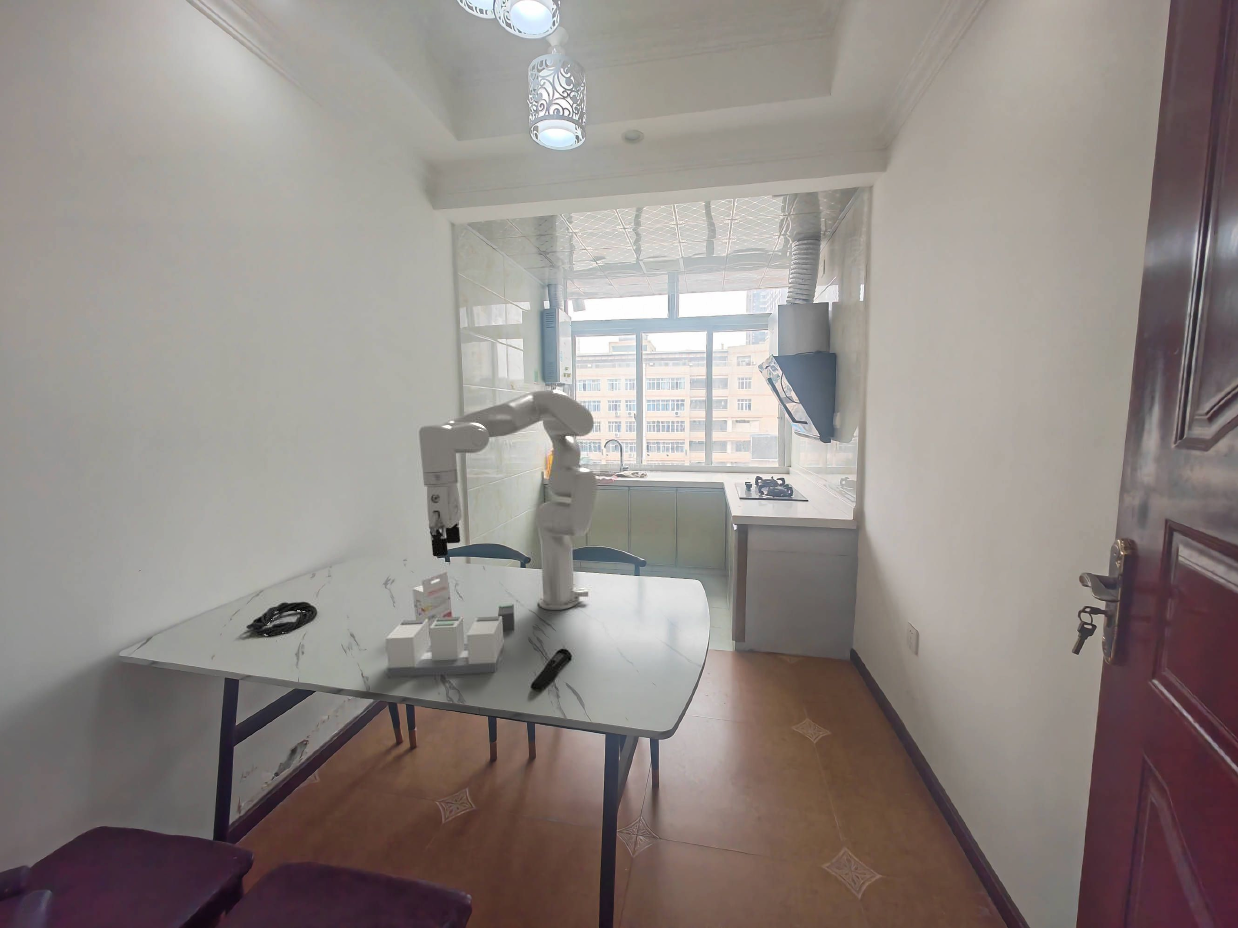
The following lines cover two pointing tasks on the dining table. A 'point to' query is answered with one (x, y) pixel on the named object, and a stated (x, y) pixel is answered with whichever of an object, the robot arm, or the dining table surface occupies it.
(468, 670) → the rail board
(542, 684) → the electric trimmer
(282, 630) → the cable
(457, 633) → the block
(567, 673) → the dining table surface
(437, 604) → the ink cartridge box
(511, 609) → the loose device
